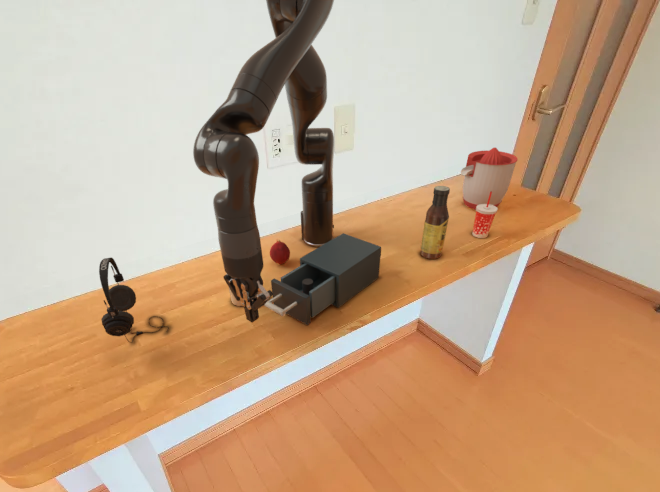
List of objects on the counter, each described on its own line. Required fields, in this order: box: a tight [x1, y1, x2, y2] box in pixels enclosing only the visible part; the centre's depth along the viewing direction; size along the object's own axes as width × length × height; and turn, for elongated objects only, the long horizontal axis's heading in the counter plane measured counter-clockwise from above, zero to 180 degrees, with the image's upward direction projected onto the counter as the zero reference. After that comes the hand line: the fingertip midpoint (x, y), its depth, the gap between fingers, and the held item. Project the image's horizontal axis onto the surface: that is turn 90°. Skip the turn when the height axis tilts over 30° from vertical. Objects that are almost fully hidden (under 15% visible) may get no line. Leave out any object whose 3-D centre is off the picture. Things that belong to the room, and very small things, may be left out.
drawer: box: [263, 263, 336, 326], centre depth 92 cm, size 22×11×8 cm, turn 138°
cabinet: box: [299, 232, 382, 308], centre depth 100 cm, size 18×13×10 cm
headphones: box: [98, 256, 170, 344], centre depth 83 cm, size 15×11×20 cm
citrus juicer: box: [460, 147, 519, 211], centre depth 134 cm, size 16×17×20 cm
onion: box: [269, 238, 291, 265], centre depth 110 cm, size 6×6×8 cm
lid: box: [302, 279, 313, 295], centre depth 93 cm, size 6×6×5 cm
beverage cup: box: [471, 191, 499, 239], centre depth 118 cm, size 6×6×14 cm
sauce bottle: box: [420, 185, 451, 260], centre depth 107 cm, size 7×6×20 cm
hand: (252, 319), depth 82 cm, fingers closed
